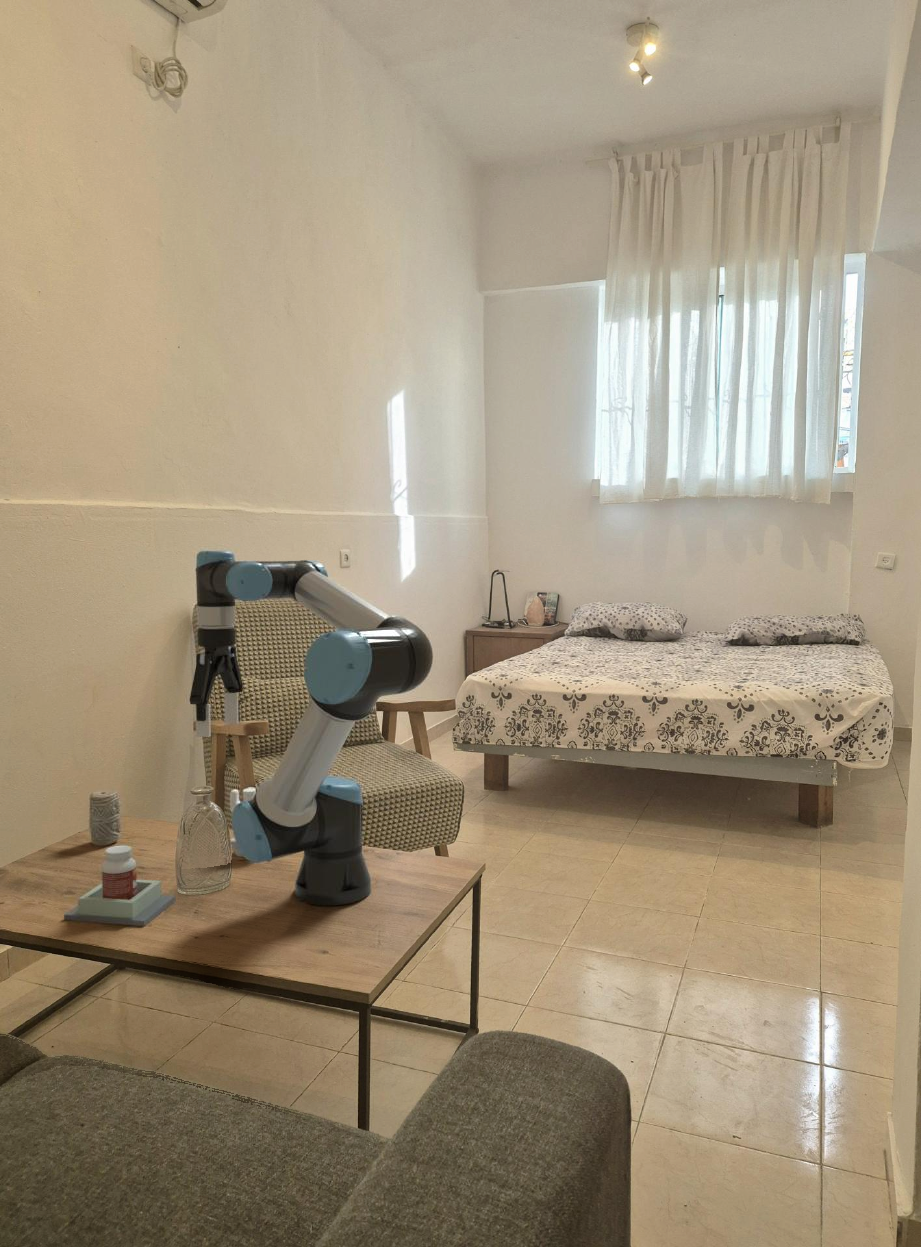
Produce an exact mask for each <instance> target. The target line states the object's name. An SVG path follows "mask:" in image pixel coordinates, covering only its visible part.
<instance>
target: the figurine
mask: <svg viewBox="0 0 921 1247" xmlns="http://www.w3.org/2000/svg"><path fill="white" fill-rule="evenodd" d="M256 792H257V788H255V787H254V786H253V787H251V786H249V787H247V788H244V789H243V790H242V797H243V801H250V800H252V799H253V798H254V796H255V794H256ZM239 793H240V792H239V790H238V789H235V788H234V789H232V790H231V791H230V792H229V806H230V807H229V808H230V812H231V814H232V813H233V810H234V807H235V806H236V805H237V804H238V803H241V802H242V801H240V798H239V797H240V795H239ZM230 840H231V845H232V847H231V849H232V851H233V852H234V853H235V855H236V857H243V858H245V857H244V856H243V855H242V853H241V852H240V850H239V848H238V846H237V843H236V841H235V837H233V838H230Z"/></svg>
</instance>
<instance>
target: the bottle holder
mask: <svg viewBox="0 0 921 1247" xmlns="http://www.w3.org/2000/svg"><path fill="white" fill-rule="evenodd" d="M77 901H78V904H77V905H76V906H75V907H73V908H72V909H70V910H68V912H66V913H64V914H63V916H64V917H63V920H65V921H73V922H87V923H98V924H110V925H111V924H112V925H123V926H124V925H125V926H137V927H146V926H147V925H148V924H150V922H151V921H152V920H154V919H155V918H156V917H158V916H159V915H160V914H161V913H163V912H164V911H165V910H166V909H167V908H169V906H171V905H172V904H174V903H175V902H176V895H171V894H169V895H167V894H162V881H161V880H150V879H137V895H136V896H134V897H133V898H132V899H130V900H125V899H112V898H102V882H101V883H100V884H98V885H97V886H95V887H93V888H92V889H91V890H90V891H88V892H86V893H85V894H83V895H82V896H80V897H79V898H78V900H77Z"/></svg>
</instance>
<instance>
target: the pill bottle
mask: <svg viewBox="0 0 921 1247" xmlns="http://www.w3.org/2000/svg"><path fill="white" fill-rule="evenodd" d="M132 849H133V848H132V847H131V846H129V845H115V846H109V847H108V848H107V849H105V851H104V852H105V853H104V854H105V856H104V858H105V859H106V860H105V861H103V863H102V865H101V883H102V898H112V899H125V900H130V899H132V898H133V897H134V896H136V895H137V880H138V879H137V875H138V874H137V862H136V860H135V859H134V858H133V857H132V855H133V850H132Z"/></svg>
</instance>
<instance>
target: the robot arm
mask: <svg viewBox="0 0 921 1247" xmlns="http://www.w3.org/2000/svg"><path fill="white" fill-rule="evenodd" d="M195 564H196V567H195V581H196V583H195V584H196V605H197V606H196V607H197V608H196V610H195V615H197V617H196V618H197V626H200V627H199V628H197V633H196V634H197V645H198V647H202V648H204V653H197V654H196V659H195V661H196V663H195V670H194V674H193V680H192V685H191V690H190V691H191V692H190V694H189V695H190V696H189V704H190V705H195V730H196V731H195V733H196V735H195V737H197V738H210V737H212V736H211V735H212V732H211V728H212V727H211V722H212V721H211V720H212V719H211V703H209V700H210V697H211V693H212V692H213V688H214V684H215V681H216V679H217V678H216V677H219V675H220V679H221V680H222V683H223V685H224V688H225V690H226V692H224V724H231V725H232V724H239V693H242V692H243V691H244V690H243V688H244V687H243V686H244V684H243V679H242V675H241V670H240V667H239V662H238V659H237V658H238V657H237V648H236V642H237V638H236V635H237V633H236V632H237V631H236V628H235V627H233V626H235V625H236V624H237V622H236V621H237V620H236V600H238V601H242V602H255V601H257V602H258V601H261V600H276V599H278V600H279V599H291V600H293V601H295V602H296V603H298V604H300V605H301V606H302V607H304V608H305V609H307V610H308V611H310V612H311V613H313V615H316V616H317V617H318V618H320V620H323V621H324V622H326V623H327V624H328V625H330V626H331V627H333V628H334V629H335V630H336V631H330V632H326V633H323V634H322V635H320V636H318V637H317V638H316V639H315V640H314V641H313V642H312V644H311V645H310V646H309V648H308V651H307V653H306V655H305V658H304V663H303V666H304V667H305V669H306V670H304V671H303V678H304V682H305V686H306V688H307V692H308V693H307V694H308V696H309V698H310V701H309V702H308V705H307V706H306V709H305V711H304V713H303V715H302V717H301V718H300V720H299V723H298V724H297V727H296V729H295V730H294V733H293V735H292V737H291V739H290V741H289V743H288V745H287V747H286V749H285V751H284V753H283V755H282V757H281V759H280V762H279V764H278V766H277V768H276V769H275V772H274V774H273V776H272V777H270V778H267V779H266V780H264V781H263V782H262V783H261V784H259V786H258V787H257V789H256V794H255V796H254V798H253V799H252V800H250V801H244V800H242V801H240V802H241V803H238V804H237V805H236V806H235V807H234V810H233V813H232V812H231V814H232V815H231V827H232V832H233V833H232V834H233V836H234V837H235V841H236V843H237V846H238V848H239V850H240V852H241V853H242V855H243V856H244V857H243V858H245V859H246V860H247V861H248V862H251V863H252V864H253V863H254V864H260V863H264V862H268V863H269V862H271V861H273V860H277V859H280V858H283V857H288V856H292V855H294V854H297V853H302V852H303V858H302V861H301V863H300V867H299V870H298V872H297V876H296V879H295V884H294V885H295V886H294V888H295V890H294V893H295V897H296V898H297V899H298V900H299V901H301V902H304V903H306V904H310V905H315V906H324V907H325V906H326V907H328V906H329V907H330V906H331V907H333V906H342V905H344V906H345V905H348V904H353V903H356V902H358V901H361V900H363V899H365V898H367V897H368V896H369V895H370V894H371V892H372V891H371V890H372V880H371V876H370V875H371V874H370V872H369V870H368V866H367V864H366V860H365V858H364V854H363V805H364V802H363V793H362V792H363V791H362V787H361V785H360V784H359V782H357V781H356V780H353V779H349V778H346V777H342V776H341V777H339V776H334V775H333V776H332V775H329V776H328V774H329V772H330V770H331V768H332V766H333V764H334V762H335V761H336V759H337V758H338V755H339V754H340V751H341V750H342V748H343V746H344V744H345V742H346V740H347V738H348V736H349V735H350V733H351V731H352V728H353V727H354V725H355V724H356V722H360V721H363V720H365V719H366V718H368V717H369V715H370V714H371V712H372V710H373V709H374V707H375V706H376V704H377V702H378V700H379V699H380V698H381V697H385V696H392V695H393V696H394V695H398V694H399V695H400V694H405V693H408V692H410V691H413V690H415V689H416V688H418V687H419V686H420V685H421V684H422V683H423V682H424V681H425V680H426V679H427V677H428V676H429V673H430V672H431V669H432V666H433V662H434V661H433V658H434V653H433V648H432V644H431V642H430V640H429V638H428V636H427V635H426V634H425V632H424V631H423V630H422V629H421V628H419V627H418V626H417V625H416V624H414V623H413V622H411V621H409V620H408V619H406V618H405V617H403V616H402V615H389V614H387V613H386V612H384V611H383V610H381V609H379V607H376V606H374V605H373V604H371V603H370V602H368V601H366V600H365V599H363V598H362V597H360V596H359V595H357V594H355V593H353V592H352V591H350V589H349V590H348V589H347V588H345V587H343V586H342V585H341V584H339V583H338V582H335V581H334V580H333V579H331V578H329V575H328V571H327V570H326V569H325V566H324V565H323V563H321V562H319V561H313V560H309V559H308V560H307V559H306V560H305V559H304V560H285V561H284V560H283V561H282V560H281V561H280V560H278V561H277V560H275V561H274V560H273V561H272V560H271V561H269V560H267V561H266V560H264V561H262V560H261V561H259V560H258V561H255V560H251V561H249V560H248V561H247V560H243V561H242V560H241V561H236V559H235V554H234V552H232V551H231V550H200V551H198V553H197V554H196V563H195ZM234 837H233V838H234Z"/></svg>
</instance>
